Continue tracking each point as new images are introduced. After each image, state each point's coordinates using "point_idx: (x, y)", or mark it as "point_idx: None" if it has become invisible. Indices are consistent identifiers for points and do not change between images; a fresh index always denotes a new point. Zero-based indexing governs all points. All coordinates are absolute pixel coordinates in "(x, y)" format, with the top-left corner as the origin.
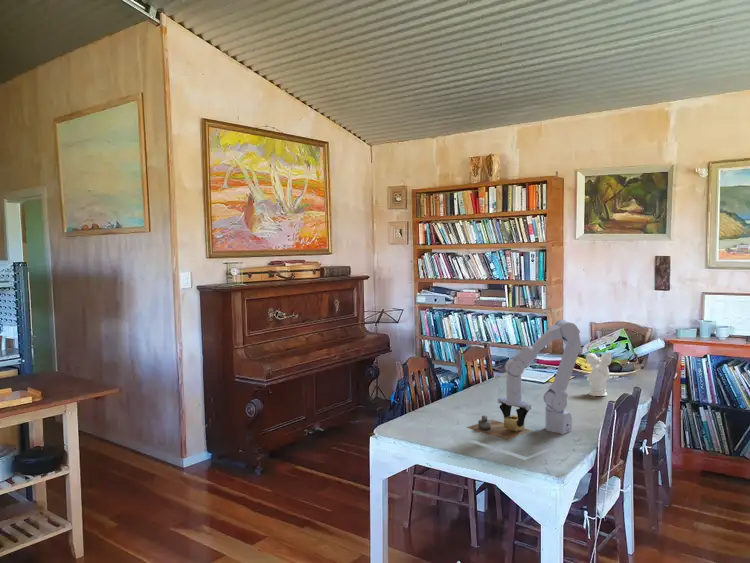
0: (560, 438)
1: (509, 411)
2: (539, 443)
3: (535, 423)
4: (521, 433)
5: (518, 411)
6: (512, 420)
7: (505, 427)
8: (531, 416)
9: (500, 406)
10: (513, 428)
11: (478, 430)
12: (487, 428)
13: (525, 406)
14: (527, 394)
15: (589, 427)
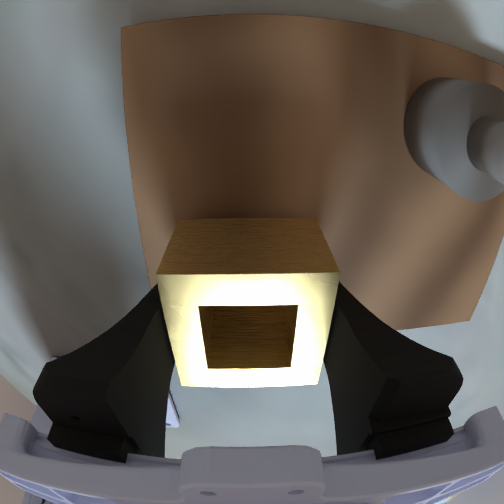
0: (40, 340)
1: (336, 392)
2: (9, 207)
3: (266, 421)
4: (155, 244)
5: (74, 374)
6: (204, 271)
7: (299, 221)
8: (330, 447)
9: (445, 371)
10: (202, 227)
11: (455, 58)
12: (418, 103)
13: (14, 455)
14: None
15: None
